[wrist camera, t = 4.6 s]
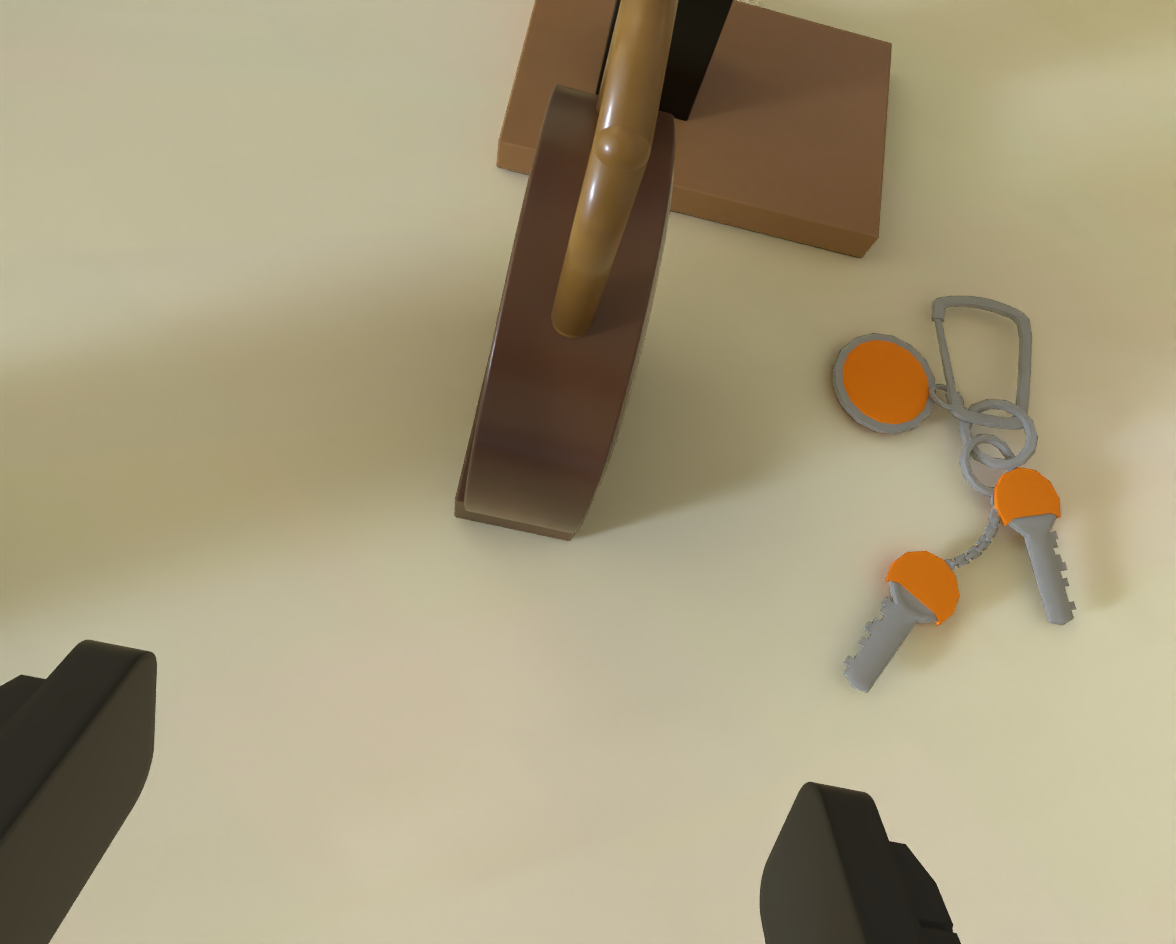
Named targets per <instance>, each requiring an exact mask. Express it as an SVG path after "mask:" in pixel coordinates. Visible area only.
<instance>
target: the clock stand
mask: <svg viewBox="0 0 1176 944" xmlns="http://www.w3.org/2000/svg"><path fill="white" fill-rule="evenodd" d="M620 2H621V0H535V3H534V7H533V11H532V15H531V18H530V22H529V26H528V30H527V34H526V38H525V41H524V45H523V49H522V53H521V57H520V61H519V65H518V68H517V72H516V76H515V80H514V84H513V88H512V91H511V95H510V99H509V103H508V107H507V111H506V114H505V118H504V122H503V126H502V130H501V134H500V138H499V142H498V153H497V166H498V167H500V168H504V169H508V170H512V171H516V172H520V173H524V174H528V175H530V171H531V167H532V163H533V159H534V155H535V151H536V147H537V143H538V139H539V135H540V131H541V127H542V124H543V120H544V116H545V113H546V109H547V106H548V103H549V99H550V96H551V94H552V91H553V89H554V87H555V86H556V85H563V86H566V87H570V88H574V89H578V90H582V91H586V92H589V93H593V94H597V95H599V91H600V87H601V82H602V78H603V74H604V70H605V65H606V61H607V57H608V53H609V48H610V44H611V40H612V36H613V31H614V27H615V23H616V19H617V14H618V10H619V6H620ZM891 47H892V44H891V43H888V42H884V41H881V40H877V39H873V38H870V37H866V36H863V35H859V34H855V33H852V32H848V31H844V30H841V29H837V28H833V27H830V26H826V25H823V24H819V23H815V22H812V21H808V20H804V19H801V18H797V17H793V16H790V15H786V14H783V13H779V12H775V11H772V10H768V9H764V8H761V7H757V6H753V5H750V4H746V3H743V2H739V1H735V0H678V6H677V11H676V16H675V22H674V27H673V33H672V38H671V44H670V49H669V55H668V60H667V65H666V71H665V76H664V82H663V87H662V93H661V98H660V104H659V109H658V111H662V112H666V113H670V114H672V115H673V116H674V118H675V124H676V147H675V159H674V179H673V190H672V199H671V207H670V210H672V211H676V212H680V213H684V214H688V215H692V216H696V217H700V218H704V219H708V220H712V221H716V222H720V223H724V224H728V225H732V226H736V227H740V228H744V229H748V230H752V231H756V232H760V233H764V234H768V235H772V236H776V237H780V238H784V239H788V240H792V241H796V242H800V243H804V244H808V245H812V246H816V247H820V248H824V249H828V250H832V251H836V252H840V253H844V254H848V255H852V256H855V257H859V258H862V257H863V256H864V255H865V253H866V252H867V251H868V250H869V249H870V247H871V246H872V245H873V244H874V242H875V241H876V240H877V239H878V237H879V223H880V208H881V194H882V179H883V164H884V150H885V135H886V121H887V106H888V91H889V77H890V62H891Z"/></svg>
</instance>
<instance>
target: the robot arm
mask: <svg viewBox="0 0 1176 944" xmlns="http://www.w3.org/2000/svg"><path fill="white" fill-rule="evenodd" d="M156 676H157V662H156V657H155V655H154V653H152V652H149V651H144V650H139V649H134V648H129V647H124V646H119V645H113V644H108V643H103V642H98V641H93V640H84V641H82V642H80V643H79V644H78V645H77V646H76V647H74V648H73V650H72V651H71V652H70V653H69V654H68V655H67V656H66V657H65V659H64V660H63V661H62V662H61V663H60V664H59V665H58V666H57V668H56V669H55V670H54V671H53V672H52V673H51V674H50V675H49V677H48V678H47V679H41V678H36V677H31V676H25V675H20V676H18V677H16V678H14V679H13V680H11V681H9V682H7V683H5V684H4V685H2V686H0V944H48V943H49V942H50V940H51V939H52V937H53V935H54V934H55V932H56V931H57V929H58V927H59V926H60V924H61V923H62V921H63V919H64V918H65V916H66V915H67V913H68V911H69V910H70V908H71V906H72V905H73V903H74V902H75V900H76V898H77V897H78V895H79V894H80V892H81V890H82V889H83V887H84V886H85V884H86V882H87V881H88V879H89V877H90V876H91V874H92V873H93V871H94V869H95V868H96V866H97V865H98V863H99V861H100V860H101V858H102V857H103V855H104V853H105V852H106V850H107V848H108V847H109V845H110V844H111V842H112V840H113V839H114V837H115V836H116V834H117V832H118V831H119V829H120V828H121V826H122V824H123V823H124V821H125V819H126V818H127V816H128V815H129V813H130V811H131V810H132V808H133V807H134V805H135V803H136V801H137V800H138V798H139V796H140V794H141V791H142V789H143V787H144V784H145V782H146V779H147V776H148V773H149V770H150V766H151V762H152V758H153V751H154V732H155V704H156ZM760 915H761V921H762V927H763V932H764V937H765V943H766V944H961V943H960V940H959V938H958V936H957V933H953V930H952V927H953V923H952V921H951V918H950V916H949V914H948V911H947V909H946V906H945V904H944V901H943V899H942V896H941V894H940V892H939V889H938V887H937V884H936V882H935V881H934V880H933V879H932V877H931V876H930V875H929V873H928V872H927V871H926V870H925V868H924V867H923V866H922V865H921V863H920V862H919V861H918V859H917V858H916V857H915V856H914V854H913V853H912V852H911V851H910V849H909V848H908V847H907V845H906V844H902V843H896V842H891V841H889V840H888V837H887V834H886V831H885V829H884V826H883V823H882V821H881V818H880V815H879V813H878V810H877V807H876V805H875V803H874V800H873V799H872V797H871V796H870V795H869V794H867V793H865V792H860V791H855V790H850V789H845V788H840V787H834V786H829V785H824V784H819V783H814V782H808V783H806V784H804V785H803V786H802V788H801V789H800V791H799V793H798V795H797V797H796V799H795V801H794V803H793V806H792V808H791V810H790V812H789V814H788V816H787V818H786V821H785V823H784V825H783V827H782V829H781V831H780V834H779V836H778V838H777V840H776V842H775V844H774V847H773V849H772V851H771V853H770V855H769V857H768V860H767V862H766V864H765V867H764V871H763V875H762V880H761V887H760Z"/></svg>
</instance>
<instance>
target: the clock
mask: <svg viewBox="0 0 1176 944" xmlns="http://www.w3.org/2000/svg"><path fill="white" fill-rule="evenodd" d="M677 6H678V0H621V2H620V6H619V10H618V14H617V19H616V23H615V27H614V31H613V36H612V40H611V44H610V48H609V53H608V57H607V61H606V65H605V70H604V74H603V78H602V82H601V87H600V91H599V95H597V94H593V93H589V92H586V91H582V90H578V89H574V88H570V87H566V86H563V85H556V86H555V87H554V89H553V91H552V94H551V96H550V99H549V103H548V106H547V109H546V113H545V116H544V120H543V124H542V127H541V131H540V135H539V139H538V143H537V147H536V151H535V155H534V159H533V163H532V167H531V171H530V175H529V179H528V183H527V188H526V192H525V196H524V200H523V205H522V209H521V213H520V218H519V222H518V226H517V231H516V235H515V240H514V244H513V249H512V253H511V258H510V262H509V267H508V271H507V276H506V281H505V285H504V290H503V294H502V299H501V304H500V308H499V313H498V318H497V323H496V328H495V332H494V337H493V342H492V347H491V351H490V355H489V359H488V364H487V368H486V372H485V376H484V380H483V385H482V389H481V393H480V397H479V401H478V405H477V410H476V414H475V418H474V422H473V426H472V431H471V435H470V439H469V443H468V447H467V451H466V456H465V460H464V464H463V468H462V472H461V476H460V481H459V485H458V489H457V493H456V497H455V513H454V514H455V516H456V517H459V518H463V519H468V520H473V521H477V522H482V523H487V524H491V525H496V526H501V527H506V528H510V529H515V530H520V531H524V532H529V533H534V534H538V535H543V536H548V537H553V538H557V539H562V540H567V541H571V539H572V537H573V536H574V534H575V532H576V531H577V530H578V529H579V528H580V526H581V525H582V523H583V521H584V519H585V517H586V515H587V513H588V511H589V508H590V506H591V504H592V501H593V499H594V496H595V494H596V492H597V490H598V488H599V486H600V484H601V481H602V479H603V476H604V474H605V471H606V469H607V466H608V463H609V461H610V458H611V455H612V452H613V449H614V446H615V443H616V440H617V437H618V433H619V430H620V427H621V424H622V420H623V417H624V414H625V410H626V407H627V403H628V400H629V396H630V393H631V389H632V385H633V382H634V378H635V374H636V370H637V367H638V363H639V359H640V355H641V351H642V347H643V343H644V339H645V334H646V330H647V326H648V322H649V317H650V313H651V309H652V304H653V299H654V295H655V290H656V286H657V281H658V276H659V271H660V266H661V261H662V255H663V250H664V244H665V239H666V233H667V227H668V220H669V214H670V207H671V199H672V190H673V179H674V159H675V147H676V124H675V118H674V116H673V115H672V114H670V113H666V112H662V111H658V109H659V104H660V98H661V93H662V87H663V82H664V76H665V71H666V65H667V60H668V55H669V49H670V44H671V38H672V33H673V27H674V22H675V16H676V11H677Z"/></svg>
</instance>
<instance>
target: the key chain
mask: <svg viewBox="0 0 1176 944" xmlns="http://www.w3.org/2000/svg"><path fill="white" fill-rule="evenodd" d="M948 307H972V308H978V309H983V310H988V311H991V312H995V313H998V314H1000V315H1003V316H1006V317H1008V318H1010V319H1012V320H1013V321H1014V322H1015V323H1016V325H1017V328H1018V334H1019V367H1018V383H1017V396H1016V405H1014V404H1012V403H1010V402H1008V401H1005V400H994V399H986V400H983V401H980V402H977V403H975V404H972V405H971V406H970V407H969V409H966V408H964V407H963V405H964V401H963V398H962V397H961V395H960V394H959V392H957V391H956V388H955V383H954V378H953V374H952V369H951V364H950V359H949V354H948V349H947V344H946V340H945V335H944V330H943V325H942V321H944V309H946V308H948ZM932 321H934V322H935V326H936V332H937V337H938V342H939V348H940V353H941V358H942V364H943V369H944V375H945V380H946V385H947V386H946V385H942V384H936V385H935V378H934V376H933V374H932V372H931V370H930V368H929V366H928V364H927V361H926V360H925V359H924V358H923V357H922V356H921V355H920V354H919V353H918V352H917V351H916V350H915V349H914V348H913V346H912V345H910V344H908V343H906V342H904V341H902V340H900V339H898V338H896V337H894V336H890V335H883V334H876V333H872V334H868V335H864V336H860V337H856V338H855V339H854V340H852V341H851V342H850V343H849V344H848V345H846V346H845V347H844V348H843V349H842V350H841V351H840V352H839V354H838V357H837V359H836V361H835V364H834V366H833V388H834V390H835V393H836V395H837V397H838V399H839V402H840V404H841V406H842V407H843V408H844V409H845V410H846V411H847V412H848V414H849V415H850V416H851V417H852V418H853V419H854V420H855V421H856V422H858V423H860V424H862V425H863V426H865V427H867V428H869V429H871V430H873V431H875V432H882V433H890V434H898V433H901V432H904V431H908V430H911V429H914V428H915V427H917V426H918V425H919V424H920V423H921V422H922V421H923V420H924V419H925V418H927V417H928V416H929V415H930V413H931V410H932V407H933V405H934V402H935V403H936V404H938V405H939V406H941V407H943V408H945V409H948V410H950V412H951V414H952V415H953V416H954V417H956V418H958V419H960V420H961V423H960V427H959V433H960V436H961V440H962V443H963V448H962V450H961V457H960V466H961V470H962V474H963V477H964V478H965V479H966V481H967V482H968V483H969V485H970V486H971V487H972V488H974V489H975V490H977V491H978V492H980V493H982V494H983V495H987V496H991V506H992V509H991V510H990V514H989V520H990V521H989V523H988V524H987V525H986V528H985V530H984V533H985V534H984V535H983V536H981V537H980V538H979V540H978V541H977V542H976V544H977V546H973V547H971V548H970V549H969V550H968V551H966V553H967V555H965V554H962V555H959V556H957V557H955V558H954V560H955V561H952V559H947V560H943V559H941V558H939V557H937V556H935V555H933V554H931V553H929V552H927V551H917V552H907V553H905V554H904V555H902V556H901V557H900V558H898V559H897V560H896V561H894V562H893V563H892V564H891V566H890V569H889V572H888V574H887V577H886V580H885V581H886V582H889V586H890V593H891V599H892V601H891V600H890V599H889V598H888V597H886V598H885V599H884V601H883V602H882V603H881V604H882V605H883V606H884V607H883V608H882V610H881V611H880V613H881V614H882V615H883V616H884V617H883V619H882V620H881V621H880V620H879V619H878V618H875V619H874V621H873V622H872V623H871V622H868V623H867V624H866V626H865V627H864V629H865V630H866V631H867V632H868V633H869V634H871V635H870V637H869V638H868V640H867V639H866V638H864V637H861V639H860V640H859V641H858V643H857V644H859V645H860V646H861V647H862V648H861V649H860V651H859V652H858V653H857V655H856V656H855V658H854V659H853V658H852V657H851V656H848V657H847V658H846V660H845V661H844V662H843V663H845V664H846V665H847V666H848V667H847V669H846V670H845V672H844V675H845V676H846V678H847V680H848V681H849V683H850V685H851V686H852V687H853V688H856V689H858V690H861V691H863V692H865V693H868V691H869V690H870V689H871V687H872V686H873V684H874V683H875V681H876V680H877V679H878V677H879V676H880V674H881V673H882V671H883V670H884V668H885V667H886V666H887V664H888V663H889V661H890V660H891V658H892V657H893V656H894V654H895V653H896V651H897V650H898V648H899V647H900V646H901V644H902V643H903V641H904V640H905V638H906V637H907V636H908V634H909V633H910V631H911V630H912V628H913V627H914V626H915V624H916V623H929V622H935V623H936V625H940V624H941V623H942V622H943V621H945V620H946V619H947V618H948V617H950V616H951V615H952V614H954V611H955V608H956V605H957V602H958V599H959V590H958V585H957V580H956V576H955V574H954V573H953V572H952V569H955V567H954V565H957V566H958V568H959V567H961V566H963V565H965V564H968V563H970V562H969V559H971V560H974V559H976V558H977V557H978V556H979V555H981V554H982V553H981V552H980V551H981V550H983V551H984V550H986V549H987V547H988V546H989V545H990V543H991V541H990V539H991V538H993V537H995V534H996V532H997V530H998V527H997V525H998V523H1000V519H1001V521H1002V523H1003V525H1007V524H1008V525H1009V526H1010V527H1011V528H1013V529H1014V530H1015V531H1017V532H1018V533H1019V534H1021V535H1022V536H1024V539H1025V543H1026V546H1027V549H1028V553H1029V556H1030V560H1031V563H1032V567H1033V570H1034V574H1035V577H1036V581H1037V584H1038V588H1039V591H1040V595H1041V598H1042V602H1043V605H1044V609H1045V612H1046V616H1047V619H1048V622H1049V623H1054V624H1058V625H1064V624H1066V623H1067V622H1069V621H1070V620H1072V619H1073V618H1074V617H1073V614H1072V611H1071V610H1075V609H1076V607H1075V604H1074V601H1073V602H1069V600H1068V597H1067V593H1066V590H1065V586H1069V583H1068V580H1067V578H1063V579H1062V576H1061V573H1060V571H1063V570H1067V567H1066V563H1065V562H1062V560H1061V556H1060V555H1055V553H1054V549H1053V548H1056V547H1058V546H1057V543H1056V539H1058V536H1057V533H1056V531H1055V532H1049V531H1050V530H1051V528H1052V526H1053V524H1054V522H1055V520H1056V518H1059V517H1061V515H1060V501H1059V497H1058V495H1057V493H1056V492H1055V490H1054V488H1053V486H1052V484H1051V482H1050V481H1049V480H1047V479H1046V478H1045V477H1044V476H1042V475H1041V474H1040V473H1038V472H1037V471H1036V470H1032V469H1026V468H1020V467H1018V466H1021V465H1023V464H1025V463H1026V462H1027V461H1028V460H1029V459H1030V457H1031V456H1032V455H1033V454H1034V453H1035V450H1036V444H1037V439H1038V436H1037V433H1036V430H1035V426H1034V423H1033V420H1032V419H1031V418H1030V417H1029V416H1028V415H1027V412H1028V401H1029V388H1030V374H1031V347H1032V333H1031V327H1030V321H1029V318H1028V317H1027V316H1026V315H1025V314H1024V313H1022V312H1021V311H1019V310H1017V309H1015V308H1013V307H1011V306H1008V305H1006V304H1003V303H1000V302H997V301H994V300H991V299H986V298H981V297H974V296H947V297H940V298H937V299H936V300H934V301H932ZM936 389H939V390H944V391H946V392H947V393H946V398H947V402H948V404H947V403H945V402H943V401H942V400H941V399H939V398H938V397H937V396H936ZM989 409H999V410H1004V411H1006V412H1008V413H1010V414H1012V415H1014V416H1013V417H1011V418H1004V417H997V416H991V415H986V414H981V413H980V412H983V411H986V410H989ZM972 423H974V424H978V425H983V426H988V427H994V428H1002V429H1022V428H1024V430H1025V433H1026V441H1025V446H1024V448H1023V449H1022V450H1021V451H1020V452H1019V454H1018V455H1016V456H1014V453H1013V452H1012V451H1011V449H1010V448H1009V447H1008V445H1007V444H1006V443H1005V442H1003V441H1002V440H1000V439H999V438H997V437H995V436H993V435H986V434H978V435H976V436H974V437H972V436H971V433H970V429H971V425H972ZM981 443H989V444H992V445H994V446H995V447H997V448H998V449H999V450H1000V451H1001V453H1002V454H1003V455H1004V457H1005V459H998V458H992V457H990V456H988V455H986V454H984V453H983V452H981V451H980V450H979V448H978V447H977V446H976V445H978V444H981ZM970 455H971V456H972V457H973V458H974V459H975V460H977V461H979V462H981V463H982V464H984V465H986V466H988V467H990V468H997V469H1008V472H1007V473H1005V474H1003V475H1001V477H1000V479H999V480H998V482H997V484H996V486H995V487H986V486H985V485H983V484H981V483H980V482H979V481H978V480H977V479H976V477H975V476H974V475H973V473H972V471H971V467H970V463H969V458H970Z"/></svg>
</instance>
